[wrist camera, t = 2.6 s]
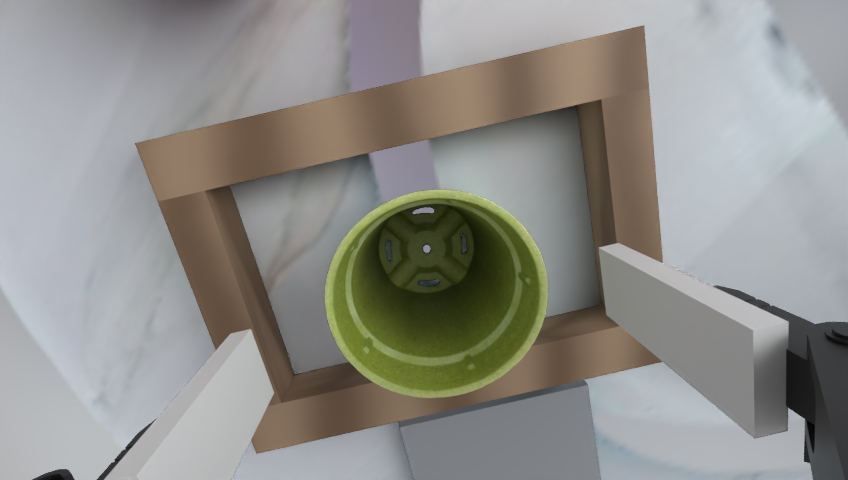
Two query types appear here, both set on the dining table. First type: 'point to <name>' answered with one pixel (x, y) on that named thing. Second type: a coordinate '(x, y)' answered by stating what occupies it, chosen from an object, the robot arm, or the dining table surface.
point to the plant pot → (436, 294)
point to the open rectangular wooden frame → (393, 126)
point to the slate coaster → (507, 438)
